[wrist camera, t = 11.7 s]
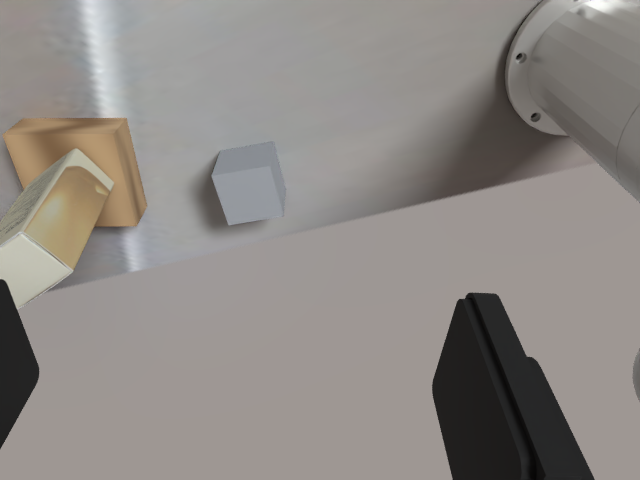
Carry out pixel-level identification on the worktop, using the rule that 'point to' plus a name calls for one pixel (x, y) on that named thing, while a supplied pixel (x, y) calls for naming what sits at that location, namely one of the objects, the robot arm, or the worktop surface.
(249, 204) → the grey block
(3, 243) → the skincare box
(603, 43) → the robot arm
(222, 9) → the worktop surface
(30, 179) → the oak block
